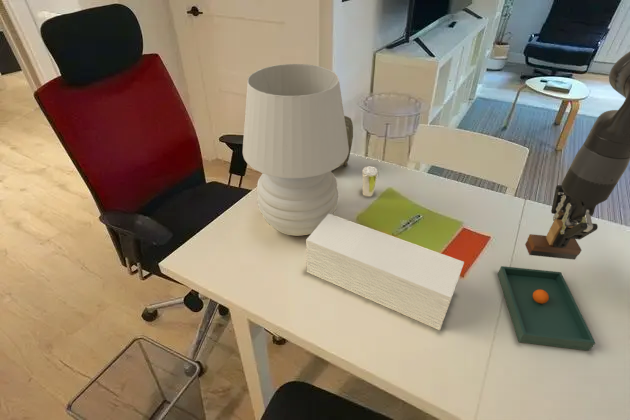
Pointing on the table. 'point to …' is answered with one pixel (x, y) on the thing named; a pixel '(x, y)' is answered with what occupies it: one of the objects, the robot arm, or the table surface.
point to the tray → (544, 309)
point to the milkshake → (369, 180)
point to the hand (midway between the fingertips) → (555, 241)
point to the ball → (540, 296)
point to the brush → (544, 244)
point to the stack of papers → (383, 269)
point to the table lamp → (295, 143)
